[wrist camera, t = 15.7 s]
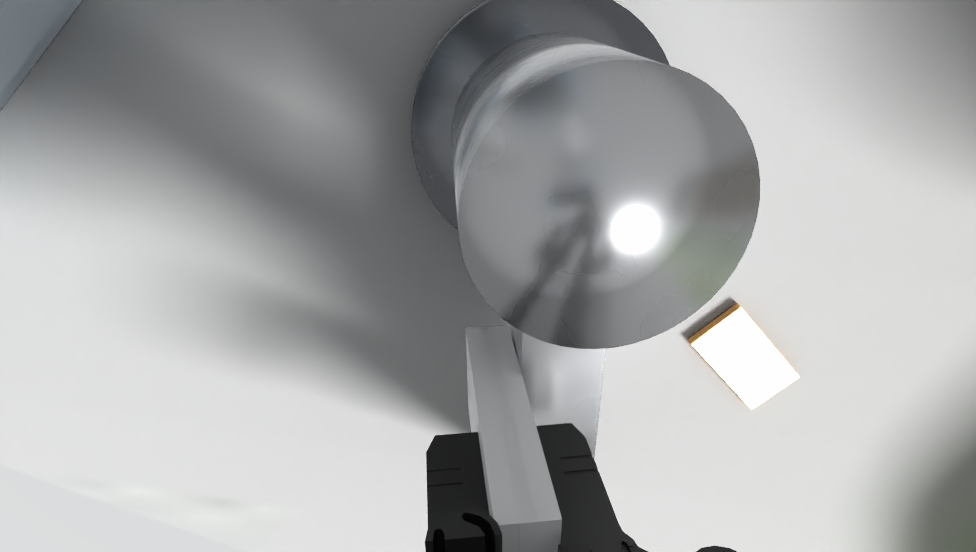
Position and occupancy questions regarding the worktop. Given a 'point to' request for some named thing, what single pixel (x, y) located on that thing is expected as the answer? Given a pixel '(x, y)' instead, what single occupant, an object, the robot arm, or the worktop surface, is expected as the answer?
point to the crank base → (594, 15)
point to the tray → (27, 37)
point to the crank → (595, 206)
